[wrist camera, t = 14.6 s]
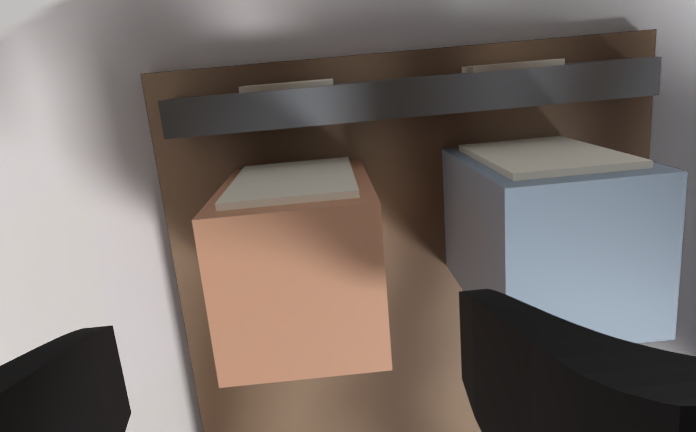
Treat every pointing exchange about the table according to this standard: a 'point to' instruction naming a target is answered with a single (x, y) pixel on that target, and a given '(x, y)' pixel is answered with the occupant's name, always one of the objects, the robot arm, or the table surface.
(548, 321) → the robot arm
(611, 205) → the slate carton
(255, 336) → the peach carton
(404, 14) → the table surface
